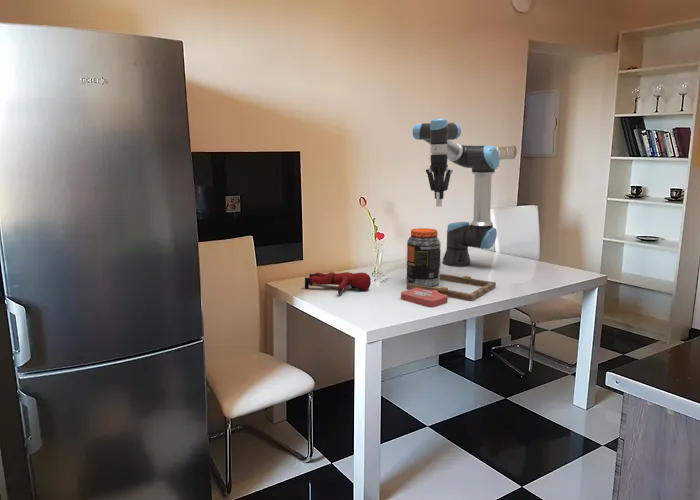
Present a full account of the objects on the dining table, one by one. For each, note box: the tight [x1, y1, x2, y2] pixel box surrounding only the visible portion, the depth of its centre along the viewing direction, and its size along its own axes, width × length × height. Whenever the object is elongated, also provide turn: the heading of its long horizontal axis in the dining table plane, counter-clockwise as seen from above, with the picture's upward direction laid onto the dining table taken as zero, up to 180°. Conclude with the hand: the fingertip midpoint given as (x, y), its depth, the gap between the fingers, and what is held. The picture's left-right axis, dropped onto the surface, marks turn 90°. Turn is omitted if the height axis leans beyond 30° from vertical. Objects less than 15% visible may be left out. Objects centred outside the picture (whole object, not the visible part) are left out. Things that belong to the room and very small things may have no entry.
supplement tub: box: [406, 227, 442, 287], centre depth 257 cm, size 16×16×26 cm
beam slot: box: [406, 273, 497, 302], centre depth 251 cm, size 28×32×4 cm
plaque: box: [400, 288, 449, 308], centre depth 233 cm, size 18×4×15 cm
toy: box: [304, 271, 372, 296], centre depth 250 cm, size 28×8×30 cm
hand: (439, 206), depth 248 cm, fingers closed
